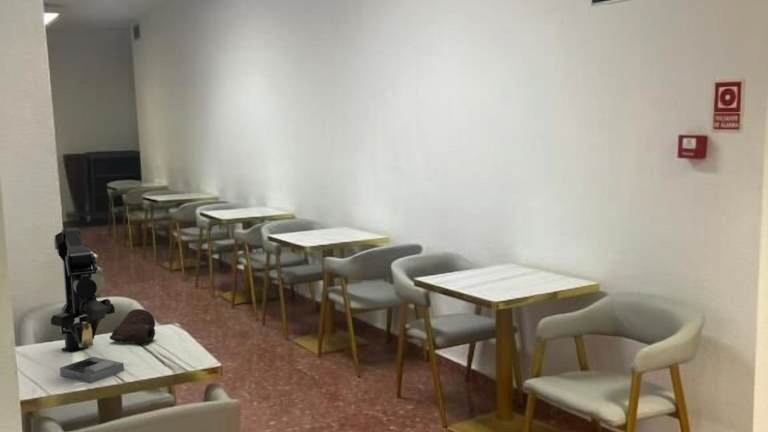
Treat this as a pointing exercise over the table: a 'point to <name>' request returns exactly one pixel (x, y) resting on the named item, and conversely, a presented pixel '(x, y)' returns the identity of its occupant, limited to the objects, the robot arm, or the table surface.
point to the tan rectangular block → (86, 335)
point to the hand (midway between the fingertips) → (85, 341)
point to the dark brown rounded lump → (135, 328)
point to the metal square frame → (91, 369)
